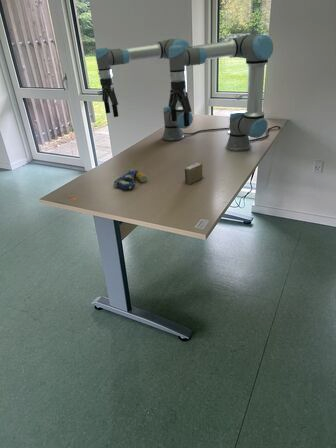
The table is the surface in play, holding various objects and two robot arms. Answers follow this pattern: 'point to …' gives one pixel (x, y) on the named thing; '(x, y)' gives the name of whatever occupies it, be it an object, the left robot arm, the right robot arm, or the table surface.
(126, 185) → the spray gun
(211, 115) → the table surface
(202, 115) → the table surface
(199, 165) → the ink box
